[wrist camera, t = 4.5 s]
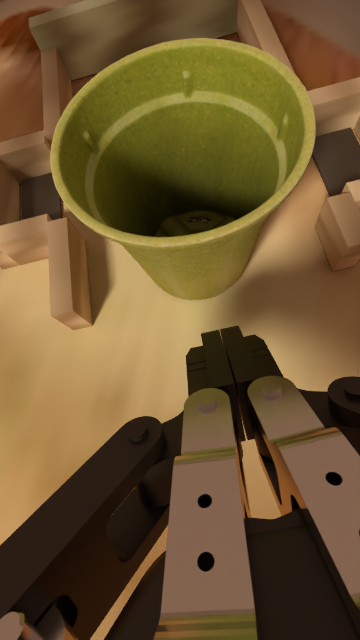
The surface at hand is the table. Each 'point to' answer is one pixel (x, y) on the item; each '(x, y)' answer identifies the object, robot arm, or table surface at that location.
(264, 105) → the plant pot
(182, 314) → the table surface
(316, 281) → the table surface
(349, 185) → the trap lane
